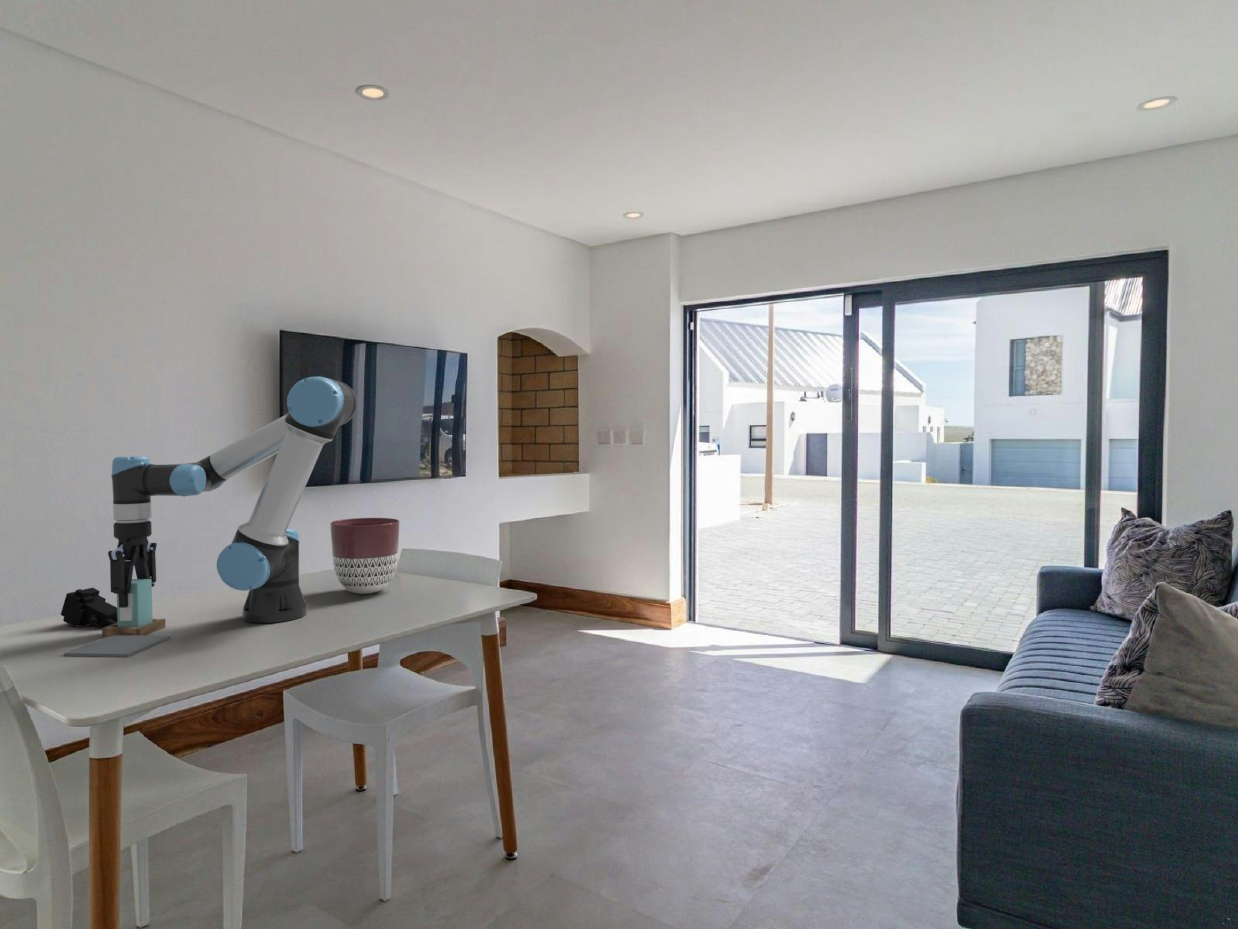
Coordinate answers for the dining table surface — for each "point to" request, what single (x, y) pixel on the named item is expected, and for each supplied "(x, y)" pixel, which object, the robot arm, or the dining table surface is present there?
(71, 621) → the toy
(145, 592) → the block
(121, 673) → the dining table surface
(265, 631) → the dining table surface
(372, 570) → the planter
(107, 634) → the wooden square frame
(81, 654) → the pad
